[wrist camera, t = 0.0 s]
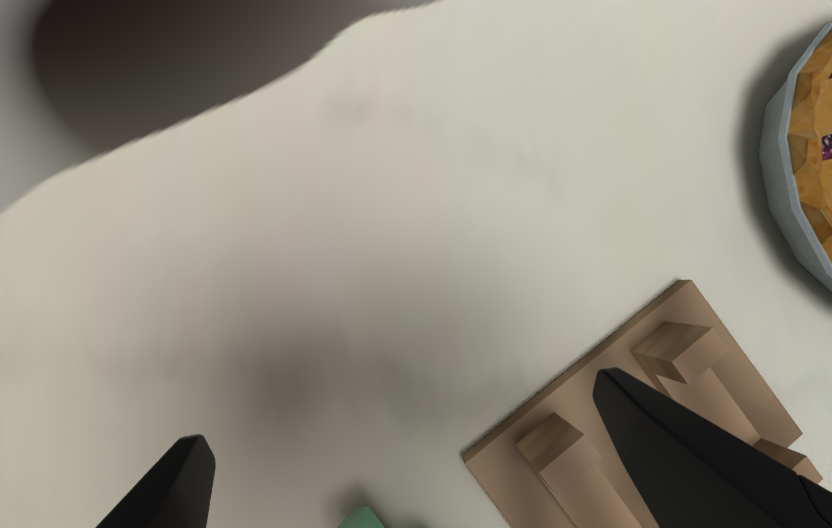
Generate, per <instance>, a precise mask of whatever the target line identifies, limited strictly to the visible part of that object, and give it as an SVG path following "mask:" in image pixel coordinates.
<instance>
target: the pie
mask: <svg viewBox="0 0 832 528" xmlns="http://www.w3.org/2000/svg"><path fill="white" fill-rule="evenodd" d="M759 159H760V165H761V170H762V175H763V180H764V186H765V191H766V196H767V201H768V207H769V211H770V213H771V215H772V217H773V218H774V220H775V222H776V224H777V226H778V227H779V229H780V231H781V233H782V234H783V236H784V238H785V240H786V242H787V243H788V245H789V247H790V249H791V251H792V252H793V254H794V256H795V258H796V260H797V261H798V262H799V263H800V264H801V265H802V266H803V267H804V268H805V269H806V270H807V271H808V272H810V273H811V274H812V275H813V276H814V277H815V278H816V279H817V280H818V281H819V282H820V283H822V284H823V285H824V286H825V287H826V288H827V289H828V290H829V291H830V292H831V293H832V21H830V22H829V23H827V24H825V25H824V27H823V28H822V29H821V31H820V32H819V33H818V35H817V36H816V37H815V39H814V40H813V42H812V43H811V44H810V46H809V47H808V48H807V50H806V51H805V52H804V54H803V55H802V56H801V58H800V59H799V60H798V62H797V63H796V64H795V66H794V67H793V68H792V70H791V71H790V72H789V75H788V78H787V80H786V81H785V82H784V84H783V85H782V86H781V87H780V89H779V90H778V91H777V92H776V94H775V95H774V96H773V97H772V99H771V100H770V101H769V103H768V104H767V105H766V106H765V112H764V119H763V126H762V134H761V141H760V148H759Z"/></svg>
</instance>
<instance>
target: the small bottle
mask: <svg viewBox="0 0 832 528" xmlns="http://www.w3.org/2000/svg"><path fill="white" fill-rule="evenodd" d="M338 528H385V527H384V526H383V525H382V523H381V522H380V520H379V519H378V518H377V516H376V515H375V514H374V512H373V511H372V510H371V508H370V507H369V506H362V507H360V508H358V509H356V510H355V511H354V512H352V513H351V514H350V515H349V516H348V517H347V518H346V519H345V520H344V521H343V522H342V523H341V524H340V525H339V527H338Z"/></svg>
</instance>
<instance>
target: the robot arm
mask: <svg viewBox="0 0 832 528" xmlns="http://www.w3.org/2000/svg"><path fill="white" fill-rule="evenodd" d="M592 397H593V401H594V404H595V406H596V408H597V410H598V412H599V415H600V417H601V419H602V421H603V423H604V425H605V428H606V430H607V432H608V434H609V436H610V438H611V441H612V443H613V445H614V447H615V449H616V451H617V454H618V456H619V458H620V460H621V462H622V464H623V466H624V467H625V469H626V471H627V473H628V475H629V476H630V478H631V480H632V482H633V483H634V485H635V487H636V488H637V490H638V492H639V494H640V495H641V497H642V499H643V500H644V502H645V504H646V506H647V507H648V509H649V511H650V512H651V514H652V516H653V517H654V519H655V521H656V523H657V524H658V526H659V528H832V492H830V491H828V490H827V489H825V488H823V487H821V486H820V485H818V484H816V483H815V482H813V481H811V480H809V479H808V478H806V477H804V476H803V475H798V474H797V473H796V472H795V471H794V470H792V469H791V468H789V467H787V466H785V465H784V464H782V463H780V462H779V461H777V460H775V459H773V458H772V457H770V456H768V455H767V454H765V453H763V452H762V451H760V450H758V449H756V448H755V447H753V446H751V445H750V444H748V443H746V442H745V441H743V440H741V439H739V438H738V437H736V436H734V435H733V434H731V433H729V432H728V431H726V430H724V429H722V428H721V427H719V426H717V425H716V424H714V423H712V422H711V421H709V420H707V419H705V418H704V417H702V416H700V415H699V414H697V413H695V412H693V411H692V410H690V409H688V408H687V407H685V406H683V405H682V404H680V403H678V402H676V401H675V400H673V399H671V398H670V397H668V396H666V395H665V394H663V393H661V392H659V391H658V390H656V389H654V388H653V387H651V386H649V385H648V384H646V383H644V382H642V381H641V380H639V379H637V378H636V377H634V376H632V375H631V374H629V373H627V372H625V371H624V370H622V369H620V368H618V367H614V366H613V367H606V368H601V369H599V370H598V371H597V374H596V378H595V383H594V387H593V392H592ZM215 465H216V463H215V457H214V455H213V453H212V451H211V449H210V447H209V445H208V443H207V441H206V439H205V438H204V436H203V435H201V434H196V435H190V436H185V437H182V438H180V439H179V440H177V441H176V442H175V443H174V445H173V446H172V447H171V448H170V449H169V450H168V451H167V452H166V453H165V454H164V455H163V456H162V457H161V458H160V459H159V460H158V462H157V463H156V464H155V465H154V466H153V467H152V468H151V469H150V470H149V471H148V472H147V473H146V474H145V475H144V476H143V478H142V479H141V480H140V481H139V482H138V483H137V484H136V485H135V486H134V487H133V488H132V489H131V490H130V491H129V492H128V493H127V495H126V496H125V497H124V498H123V499H122V500H121V501H120V502H119V503H118V504H117V505H116V506H115V507H114V508H113V509H112V510H111V512H110V513H109V514H108V515H107V516H106V517H105V518H104V519H103V520H102V521H101V522H100V523H99V524H98V525H97V526H96V528H206V525H207V518H208V512H209V506H210V499H211V493H212V486H213V480H214V474H215Z"/></svg>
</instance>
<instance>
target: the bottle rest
mask: <svg viewBox="0 0 832 528" xmlns="http://www.w3.org/2000/svg"><path fill="white" fill-rule="evenodd" d="M613 366H614V367H618V368H620V369H622V370H624V371H625V372H627V373H629V374H631V375H632V376H634V377H636V378H637V379H639V380H641V381H642V382H644V383H646V384H648V385H649V386H651V387H653V388H654V389H656V390H658V391H659V392H661V393H663V394H665V395H666V396H668V397H670V398H671V399H673V400H675V401H676V402H678V403H680V404H682V405H683V406H685V407H687V408H688V409H690V410H692V411H693V412H695V413H697V414H699V415H700V416H702V417H704V418H705V419H707V420H709V421H711V422H712V423H714V424H716V425H717V426H719V427H721V428H722V429H724V430H726V431H728V432H729V433H731V434H733V435H734V436H736V437H738V438H739V439H741V440H743V441H745V442H746V443H748V444H750V445H751V446H753V447H755V448H756V449H758V450H760V451H762V452H763V453H765V454H767V455H768V456H770V457H772V458H773V459H775V460H777V461H779V462H780V463H782V464H784V465H785V466H787V467H789V468H791V469H792V470H794V471H795V472H796V473H797V474H798V475H803V476H804V477H806V478H808V479H809V480H811V481H813V482H815V483H816V484H818V483H819V482H820V481H821V480H822V479H823V478H822V476H821V475H820V474H819V472H818V471H817V470H816V468H815V467H814V465H813V464H812V463H811V461H810V460H809V459H808V457H807V456H805V455H803V454H800V453H798V452H795V451H793V450H790V449H788V447H789V446H790V445H791V444H792V443H793V442H794V441H795V440H796V439H798V438H799V437H800V436H801V435H802V434H803V433H802V432H801V430H800V429H799V427H798V426H797V425H796V423H795V422H794V421H793V419H792V418H791V416H790V415H789V414H788V412H787V411H786V409H785V408H784V407H783V405H782V404H781V403H780V401H779V400H778V398H777V397H776V396H775V394H774V393H773V392H772V390H771V389H770V387H769V386H768V385H767V383H766V382H765V381H764V379H763V378H762V376H761V375H760V374H759V372H758V371H757V370H756V368H755V367H754V365H753V364H752V363H751V361H750V360H749V359H748V357H747V356H746V354H745V353H744V352H743V350H742V349H741V348H740V346H739V345H738V343H737V342H736V341H735V339H734V338H733V336H732V335H731V334H730V332H729V331H728V330H727V328H726V327H725V325H724V324H723V323H722V321H721V320H720V319H719V317H718V316H717V314H716V313H715V312H714V310H713V309H712V308H711V306H710V305H709V303H708V302H707V301H706V299H705V298H704V297H703V295H702V294H701V292H700V291H699V290H698V288H697V287H696V286H695V284H694V283H693V281H692V280H679V281H677V282H676V283H675V284H674V285H672V286H671V287H670V288H669V289H667V290H666V291H665V292H664V293H663V294H661V295H660V296H659V297H658V298H656V299H655V300H654V301H653V302H651V303H650V304H649V305H648V306H646V307H645V308H644V309H643V310H641V311H640V312H639V313H638V314H637V315H635V316H634V317H633V318H632V319H630V320H629V321H628V322H627V323H625V324H624V325H623V326H622V327H620V328H619V329H618V330H617V331H615V332H614V333H613V334H612V335H611V336H609V337H608V338H607V339H606V340H604V341H603V342H602V343H601V344H599V345H598V346H597V347H596V348H594V349H593V350H592V351H591V352H590V353H588V354H587V355H586V356H585V357H583V358H582V359H581V360H580V361H578V362H577V363H576V364H575V365H573V366H572V367H571V368H570V369H568V370H567V371H566V372H565V373H564V374H562V375H561V376H560V377H559V378H557V379H556V380H555V381H554V382H552V383H551V384H550V385H549V386H547V387H546V388H545V389H544V390H542V391H541V392H540V393H539V394H538V395H536V396H535V397H534V398H533V399H531V400H530V401H529V402H528V403H526V404H525V405H524V406H523V407H521V408H520V409H519V410H518V411H516V412H515V413H514V414H513V415H512V416H510V417H509V418H508V419H507V420H505V421H504V422H503V423H502V424H500V425H499V426H498V427H497V428H495V429H494V430H493V431H492V432H490V433H489V434H488V435H487V436H486V437H484V438H483V439H482V440H481V441H479V442H478V443H477V444H476V445H474V446H473V447H472V448H471V449H469V450H468V451H467V452H466V453H465V454H463V455H462V458H463V460H464V462H465V464H466V466H467V467H468V468H469V470H470V471H471V472H472V474H473V475H474V476H475V478H476V479H477V481H478V482H479V483H480V485H481V486H482V487H483V489H484V490H485V491H486V493H487V494H488V496H489V497H490V498H491V500H492V501H493V502H494V504H495V505H496V506H497V508H498V509H499V511H500V512H501V513H502V515H503V516H504V517H505V519H506V520H507V522H508V523H509V524H510V526H511V527H512V528H659V526H658V524H657V523H656V521H655V519H654V517H653V516H652V514H651V512H650V511H649V509H648V507H647V506H646V504H645V502H644V500H643V499H642V497H641V495H640V494H639V492H638V490H637V488H636V487H635V485H634V483H633V482H632V480H631V478H630V476H629V475H628V473H627V471H626V469H625V467H624V466H623V464H622V462H621V460H620V458H619V456H618V454H617V451H616V449H615V447H614V445H613V443H612V441H611V438H610V436H609V434H608V432H607V430H606V428H605V425H604V423H603V421H602V419H601V417H600V415H599V412H598V410H597V408H596V406H595V404H594V401H593V397H592V392H593V387H594V383H595V378H596V374H597V371H598V370H599V369H601V368H606V367H613Z"/></svg>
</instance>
